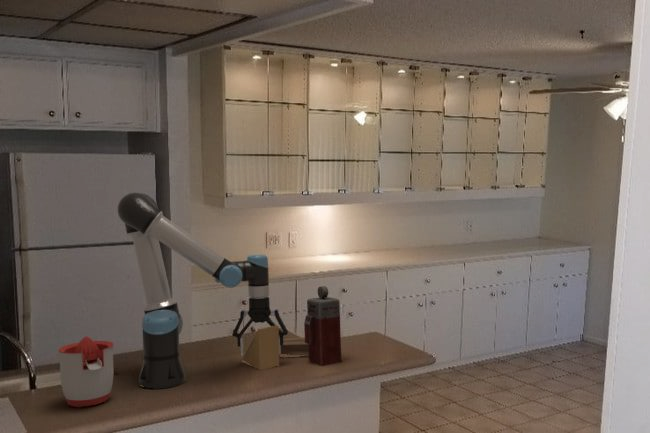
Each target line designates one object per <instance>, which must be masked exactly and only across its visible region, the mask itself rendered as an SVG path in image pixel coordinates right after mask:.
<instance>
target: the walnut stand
mask: <svg viewBox="0 0 650 433" xmlns="http://www.w3.org/2000/svg"><path fill="white" fill-rule="evenodd" d="M281 354H287V355H288V354H289V355H305V356H309V347H308V344H307V343H305V337H291V338H290V337H289V338H284V337H283V345H281Z"/></svg>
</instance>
